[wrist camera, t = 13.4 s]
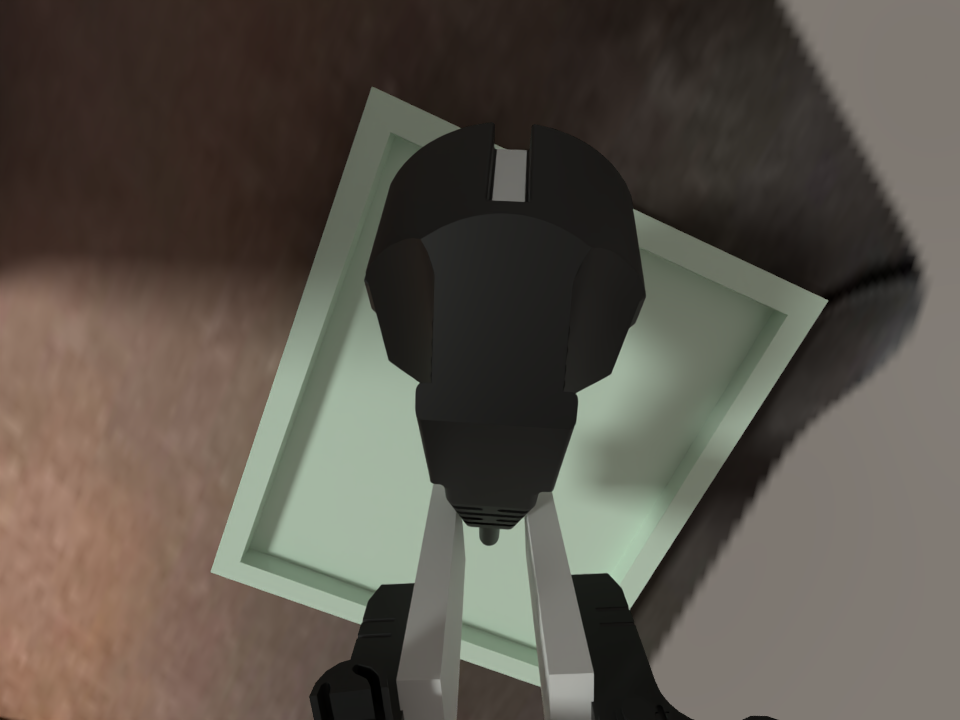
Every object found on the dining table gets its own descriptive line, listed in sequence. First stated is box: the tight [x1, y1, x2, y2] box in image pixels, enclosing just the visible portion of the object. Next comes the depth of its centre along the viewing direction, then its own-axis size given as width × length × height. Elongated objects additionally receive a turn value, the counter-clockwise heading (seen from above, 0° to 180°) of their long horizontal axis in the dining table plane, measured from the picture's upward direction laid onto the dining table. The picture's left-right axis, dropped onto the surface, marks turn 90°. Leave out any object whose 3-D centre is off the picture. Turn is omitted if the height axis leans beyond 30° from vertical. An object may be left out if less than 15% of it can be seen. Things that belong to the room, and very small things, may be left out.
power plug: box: [364, 123, 646, 546], centre depth 13 cm, size 6×8×12 cm
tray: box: [211, 87, 828, 687], centre depth 20 cm, size 20×17×2 cm
